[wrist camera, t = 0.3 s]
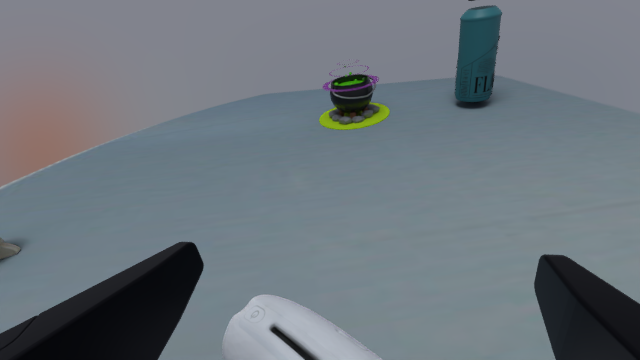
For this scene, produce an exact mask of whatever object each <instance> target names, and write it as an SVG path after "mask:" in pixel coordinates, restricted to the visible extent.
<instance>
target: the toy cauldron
mask: <svg viewBox="0 0 640 360" xmlns="http://www.w3.org/2000/svg"><path fill="white" fill-rule="evenodd" d="M345 67H346V66H345ZM349 74H350V75H348V76H347V75H345V76H343V77H340V78H337V79H335V80H333V81H331V90H330V95H331V101H332V102H333V104H334V106H335V107H336V108H333V109H331V110H329V111H327V112H325V113H324V114H323V115H321V117H320V119H319V122H320V124H321V125H322V126H324V127H326V128H330V129H337V130H350V129H358V128H364V127H368V126H371V125H374V124H377V123H379V122H381V121H383V120H384V119H386V118H387V117H388V115H389V114H390V111H389V109H388V108H387V107H386V106H384V105H382V104H378V103H370V101H371V98H372V94H373V91H374V90H375V87H376V81H377V80H376V79H377V78H376V76H375V78H374V77H373V76H370V77H369V76H368V75H362V74H357V75H351V74H352V73H351V72H350V73H349ZM331 76H332V75H331ZM369 78H370V79H372V80H373V81H372V82H370V80H369ZM375 80H376V81H375ZM373 83H374V88H372V84H373ZM329 84H330V82H328V83H327V84H325V85H326V86H325V85H324V86H323V88H324V87H325V90H326V89H327V91H329V89H330V88H329V89H328V85H329Z"/></svg>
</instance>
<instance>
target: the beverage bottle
mask: <svg viewBox="0 0 640 360" xmlns="http://www.w3.org/2000/svg"><path fill="white" fill-rule="evenodd" d="M469 1H473V0H469ZM501 15H502V12H501V10H500V9H499V8H498V7H497V6H483V7H476V8H471V9H468V10H467V11H466V12H465V13H464V14H463V15H462V17H461V18H460V20H461V24H460V39H459V53H458V63H457V77H456V81H455V82H456V84H455V85H456V89H455V90H456V91H455V93H454V94H455V96H456V99H458V100H460V101H465V102H478V101H483V100H486V99H488V98H489V97H490V95H491V94H492V93H491V92H492V88H493V81H494V79H493V77H494V76H495V75H494V68H495V63H496V62H495V60H496V54H497V47H498V46H497V45H498V40H499V39H498V38H499V37H500V36H499V28H500V20H501Z"/></svg>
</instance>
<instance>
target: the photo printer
mask: <svg viewBox="0 0 640 360" xmlns="http://www.w3.org/2000/svg"><path fill="white" fill-rule="evenodd" d="M222 353H223V358H224V360H382V359H381V358H379V357H378V356H377V355H376V354H374V353H373V352H372V351H370V350H369V349H368V348H366V347H365V346H364V345H362V344H361V343H360V342H358V341H357V340H356V339H354V338H353V337H352V336H350V335H349V334H347V333H346V332H345V331H343V330H342V329H340V328H339V327H337V326H336V325H334V324H333V323H331V322H330V321H328V320H327V319H325V318H323V317H322V316H320V315H319V314H317V313H315V312H313V311H312V310H310V309H308V308H306V307H304V306H301V305H299V304H297V303H295V302H293V301H291V300H288V299H285V298H282V297H279V296H274V295H259V296H255V297H253V298H252V299H251V300H250V302H249V303H248V305H247V306H246V307H245V308H244V309H243V310H241V311H240V312H239V313H237V314H235V315H234V316H233V318H232V319H231V320H230V322H229V325H228V327H227V329H226V332H225V335H224V339H223V344H222Z"/></svg>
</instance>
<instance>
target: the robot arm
mask: <svg viewBox="0 0 640 360" xmlns="http://www.w3.org/2000/svg"><path fill="white" fill-rule="evenodd" d="M203 266H204V265H203V261H202V258H201V256H200V254H199V252H198V249H197V247H196V245H195V244H194V243H192V242H179V243H177V244H175V245H173V246H171V247H169V248H167V249H165V250H163V251H161V252H159V253H157V254H155V255H153V256H151V257H150V258H148V259H146V260H144V261H142V262H140V263H138V264H136V265H134V266H132V267H130V268H128V269H126V270H124V271H122V272H120V273H118V274H116V275H114V276H112V277H110V278H109V279H107V280H105V281H103V282H101V283H99V284H97V285H95V286H93V287H91V288H89V289H87V290H85V291H83V292H81V293H79V294H77V295H75V296H73V297H71V298H70V299H68V300H66V301H64V302H62V303H60V304H58V305H56V306H54V307H52V308H50V309H48V310H46V311H44V312H42V313H40V314H39V315H38V316H34V317H32V318H30V319H28V320H26V321H25V322H23V323H21V324H19V325H17V326H15V327H13V328H11V329H9V330H7V331H5V332H3V333H1V334H0V360H158V358H159V356H160V354H161V353H162V351H163V349H164V347H165V346H166V344H167V342H168V340H169V339H170V337H171V335H172V333H173V331H174V330H175V328H176V326H177V324H178V322H179V321H180V319H181V317H182V315H183V313H184V311H185V308H186V306H187V304H188V302H189V300H190V297H191V295H192V293H193V291H194V289H195V286H196V284H197V282H198V280H199V278H200V276H201V273H202V271H203ZM534 288H535V293H536V297H537V300H538V303H539V307H540V310H541V313H542V316H543V320H544V323H545V326H546V330H547V333H548V336H549V340H550V343H551V346H552V349H553V353H554V356H555V359H556V360H640V304H639V303H638V302H636V301H634V300H633V299H631V298H630V297H628V296H627V295H625V294H624V293H622V292H621V291H619V290H618V289H616V288H614V287H613V286H611V285H610V284H608V283H607V282H605V281H604V280H602V279H601V278H599V277H597V276H596V275H594V274H593V273H591V272H590V271H588V270H587V269H585V268H584V267H582V266H581V265H579V264H577V263H576V262H574V261H573V260H571V259H570V258H568V257H566V256H564V255H542V256H541V257H540V259H539V263H538V268H537V272H536V277H535V282H534Z"/></svg>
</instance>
